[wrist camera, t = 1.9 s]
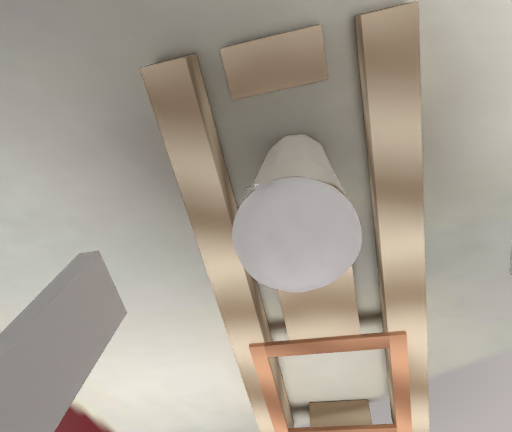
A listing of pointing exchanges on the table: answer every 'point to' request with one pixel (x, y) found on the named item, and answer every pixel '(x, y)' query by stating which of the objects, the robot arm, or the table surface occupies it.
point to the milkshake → (296, 220)
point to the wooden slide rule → (383, 204)
